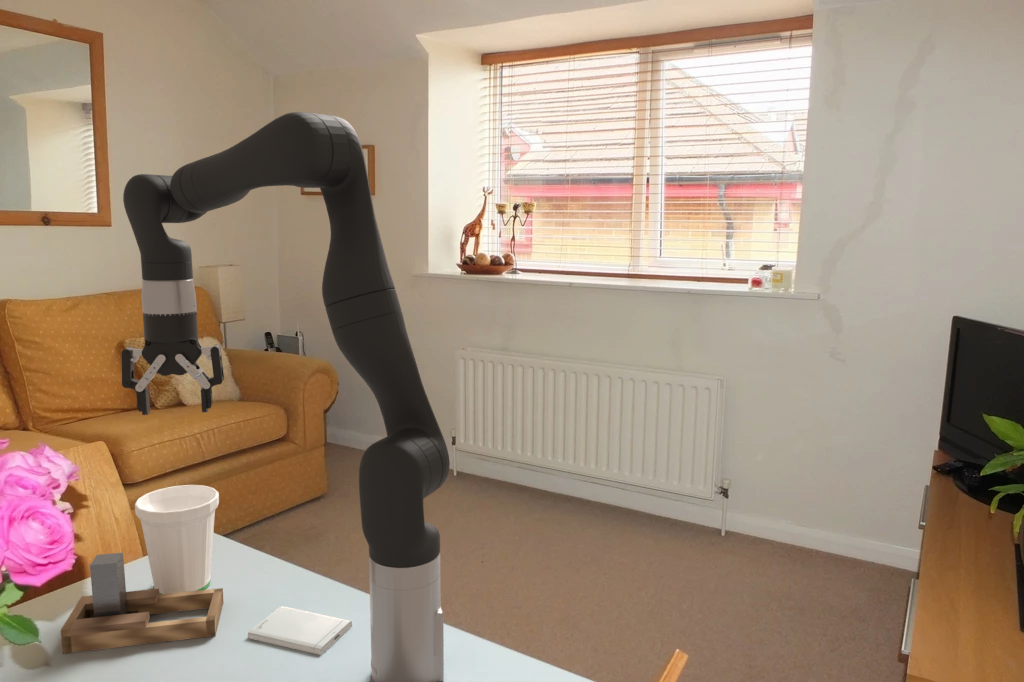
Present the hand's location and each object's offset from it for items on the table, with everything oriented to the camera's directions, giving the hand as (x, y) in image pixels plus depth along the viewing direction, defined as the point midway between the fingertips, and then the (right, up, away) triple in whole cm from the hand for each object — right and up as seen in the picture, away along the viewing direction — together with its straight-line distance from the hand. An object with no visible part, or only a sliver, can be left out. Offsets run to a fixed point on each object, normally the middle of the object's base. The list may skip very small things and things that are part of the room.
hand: (176, 412), depth 118 cm
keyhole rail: (-2, -31, -5) cm, 32 cm away
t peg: (-7, -32, -6) cm, 33 cm away
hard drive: (+21, -33, -6) cm, 39 cm away
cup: (-2, -30, +7) cm, 30 cm away
